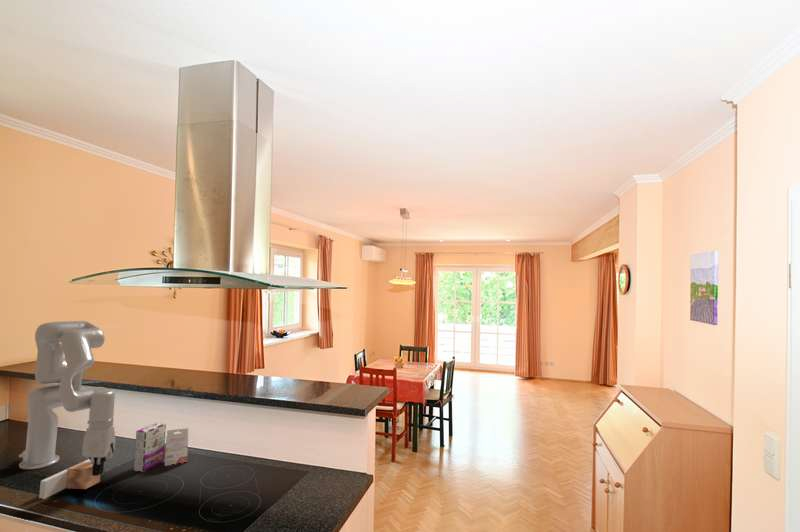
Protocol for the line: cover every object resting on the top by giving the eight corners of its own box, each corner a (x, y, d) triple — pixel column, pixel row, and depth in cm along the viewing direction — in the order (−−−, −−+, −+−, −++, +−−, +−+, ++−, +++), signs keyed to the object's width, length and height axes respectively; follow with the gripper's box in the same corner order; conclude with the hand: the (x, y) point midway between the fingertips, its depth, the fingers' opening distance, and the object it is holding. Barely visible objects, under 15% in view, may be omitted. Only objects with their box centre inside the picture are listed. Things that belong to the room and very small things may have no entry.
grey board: (38, 498, 143) (40, 480, 143) (94, 471, 164) (95, 455, 165) (44, 499, 142) (45, 480, 143) (98, 471, 164) (100, 456, 164)
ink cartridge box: (186, 458, 180) (189, 424, 181) (186, 463, 175) (189, 428, 176) (164, 461, 176) (167, 427, 177) (163, 466, 171) (166, 430, 172)
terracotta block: (67, 488, 150) (67, 468, 151) (82, 480, 156) (82, 462, 157) (85, 489, 149) (85, 469, 149) (100, 481, 155) (100, 462, 155)
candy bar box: (154, 460, 177) (157, 421, 178) (163, 461, 176) (166, 423, 177) (132, 471, 166) (135, 430, 167) (142, 472, 165) (146, 431, 166)
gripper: (74, 426, 151) (70, 477, 149) (110, 428, 149) (107, 480, 147) (92, 420, 158) (89, 468, 157) (126, 422, 156) (123, 471, 155)
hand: (97, 474), depth 152 cm, fingers closed
